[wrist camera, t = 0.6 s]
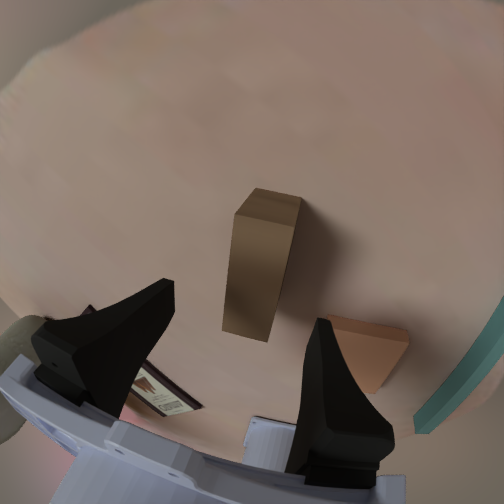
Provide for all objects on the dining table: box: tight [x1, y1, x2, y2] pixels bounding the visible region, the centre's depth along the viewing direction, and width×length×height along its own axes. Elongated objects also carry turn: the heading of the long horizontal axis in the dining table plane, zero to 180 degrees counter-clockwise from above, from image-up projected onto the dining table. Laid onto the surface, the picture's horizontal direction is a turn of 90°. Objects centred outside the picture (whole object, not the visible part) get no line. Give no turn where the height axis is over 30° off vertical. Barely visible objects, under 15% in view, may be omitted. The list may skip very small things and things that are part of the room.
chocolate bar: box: [80, 305, 202, 417], centre depth 33 cm, size 9×1×18 cm
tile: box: [326, 314, 410, 394], centre depth 23 cm, size 7×7×2 cm
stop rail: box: [413, 296, 504, 434], centre depth 20 cm, size 20×2×2 cm, turn 172°
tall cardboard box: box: [222, 188, 302, 342], centre depth 18 cm, size 8×3×5 cm, turn 172°
